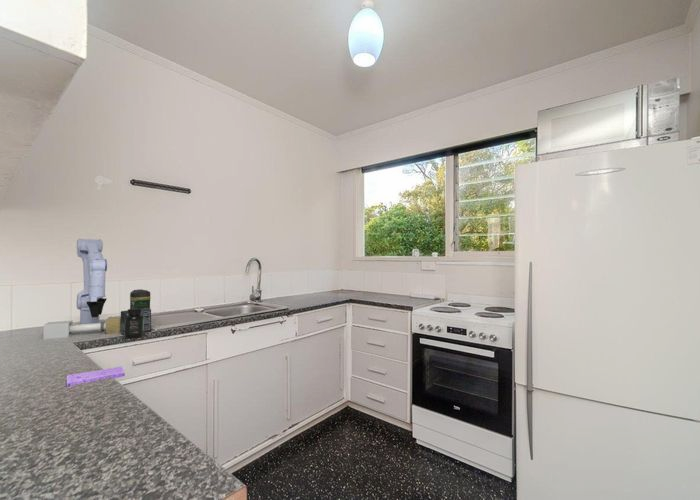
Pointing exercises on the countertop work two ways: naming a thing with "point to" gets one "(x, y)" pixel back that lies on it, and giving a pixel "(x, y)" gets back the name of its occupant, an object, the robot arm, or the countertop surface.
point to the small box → (147, 320)
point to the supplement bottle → (134, 323)
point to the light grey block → (57, 330)
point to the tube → (87, 327)
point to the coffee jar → (140, 299)
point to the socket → (113, 325)
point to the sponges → (94, 375)
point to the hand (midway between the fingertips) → (96, 315)
